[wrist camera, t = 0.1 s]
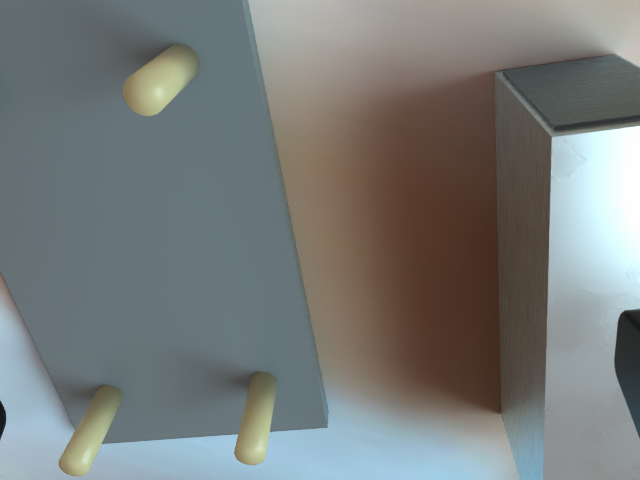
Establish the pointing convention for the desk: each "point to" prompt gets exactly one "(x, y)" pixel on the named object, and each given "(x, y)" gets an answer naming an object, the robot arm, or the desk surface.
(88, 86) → the pin cradle
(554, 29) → the desk surface
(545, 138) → the drive
